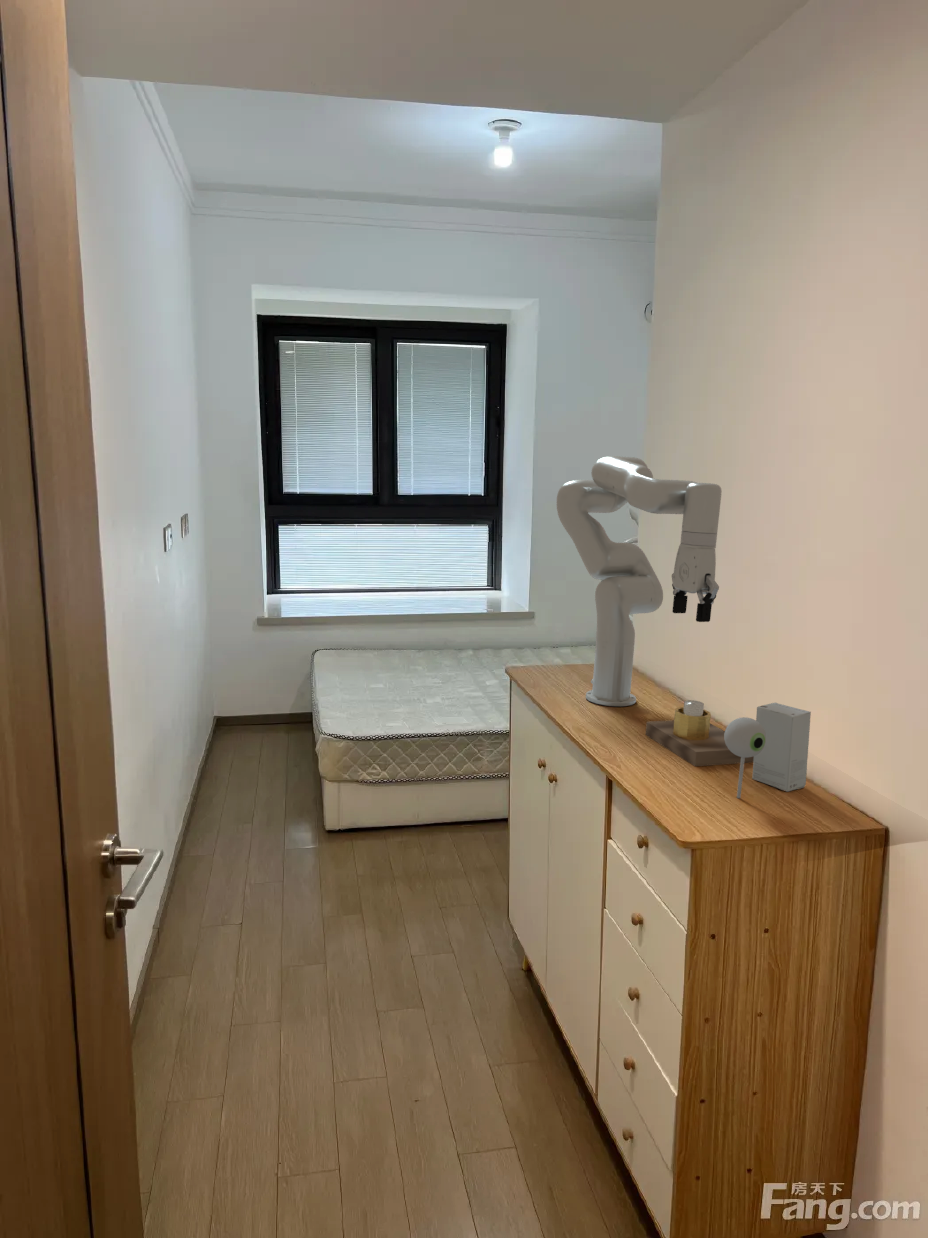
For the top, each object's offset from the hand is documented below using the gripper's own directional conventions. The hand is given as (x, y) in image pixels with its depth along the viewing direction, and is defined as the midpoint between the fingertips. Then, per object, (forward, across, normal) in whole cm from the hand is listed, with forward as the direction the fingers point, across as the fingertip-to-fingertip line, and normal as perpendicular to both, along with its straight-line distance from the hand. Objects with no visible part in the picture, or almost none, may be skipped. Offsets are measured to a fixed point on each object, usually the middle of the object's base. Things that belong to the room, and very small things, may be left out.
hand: (690, 617), depth 186 cm
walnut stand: (+26, +12, -3) cm, 29 cm away
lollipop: (+26, +38, -11) cm, 47 cm away
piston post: (+23, +12, -5) cm, 26 cm away
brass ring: (+23, +12, -5) cm, 26 cm away
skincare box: (+26, +33, +1) cm, 42 cm away
